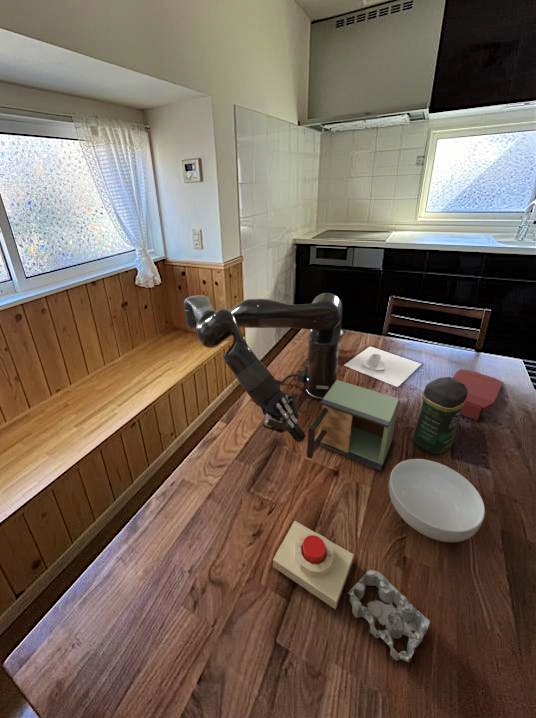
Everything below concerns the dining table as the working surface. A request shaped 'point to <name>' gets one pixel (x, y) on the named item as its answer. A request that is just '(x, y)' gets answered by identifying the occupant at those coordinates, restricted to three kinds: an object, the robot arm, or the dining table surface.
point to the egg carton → (389, 614)
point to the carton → (478, 392)
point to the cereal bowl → (436, 500)
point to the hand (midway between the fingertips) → (302, 439)
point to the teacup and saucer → (383, 366)
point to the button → (314, 549)
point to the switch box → (314, 565)
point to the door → (330, 430)
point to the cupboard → (364, 421)
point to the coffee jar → (440, 414)
